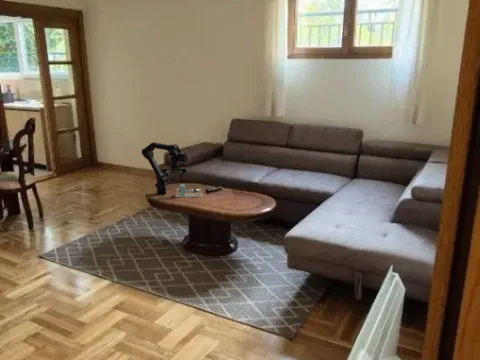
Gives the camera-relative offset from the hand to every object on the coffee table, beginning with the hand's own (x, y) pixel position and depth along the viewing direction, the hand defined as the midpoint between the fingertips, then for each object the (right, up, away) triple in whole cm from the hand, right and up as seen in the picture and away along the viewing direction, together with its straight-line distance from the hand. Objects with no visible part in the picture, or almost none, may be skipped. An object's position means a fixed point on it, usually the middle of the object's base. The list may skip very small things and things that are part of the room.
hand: (174, 180), depth 320 cm
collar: (+6, -10, +3) cm, 12 cm away
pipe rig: (+11, -11, +4) cm, 16 cm away
